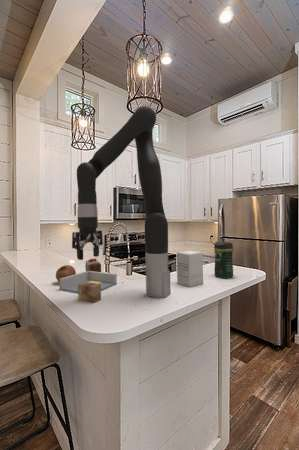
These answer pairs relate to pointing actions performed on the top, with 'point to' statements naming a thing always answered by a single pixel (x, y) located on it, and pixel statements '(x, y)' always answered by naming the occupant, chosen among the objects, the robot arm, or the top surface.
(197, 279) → the supplement box
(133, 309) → the top surface
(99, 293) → the walnut brick
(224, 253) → the coffee jar
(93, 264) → the food item
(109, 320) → the top surface
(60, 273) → the onion
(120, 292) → the top surface
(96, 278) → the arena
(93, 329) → the top surface
